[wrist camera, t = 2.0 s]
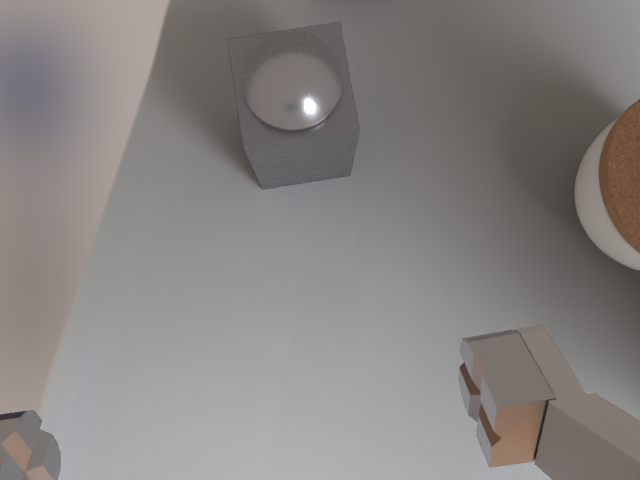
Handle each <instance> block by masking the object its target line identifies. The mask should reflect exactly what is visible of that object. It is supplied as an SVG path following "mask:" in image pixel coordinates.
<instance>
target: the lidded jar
mask: <svg viewBox="0 0 640 480" xmlns="http://www.w3.org/2000/svg"><path fill="white" fill-rule="evenodd" d="M574 196H575V206H576V210H577V214H578V217H579V219H580V222H581V225H582V226H583V228H584V230H585V232H586V233H587V235H588V236H589V238H590V239H591V240H592V241H593V243H594V244H595V245H596V246H597V247H598V248H599V249H600V250H601V251H603V252H604V253H605V254H606V255H608V256H609V257H611V258H612V259H614V260H615V261H617V262H619V263H621V264H623V265H625V266H627V267H629V268H631V269H634V270H638V271H640V99H639V100H638V101H637V102H635V103H634V104H633V105H631V106H630V107H629V108H628V109H627V110H626V111H625V112H624V113H623V114H622V115H620V116H619V117H618V118H616V119H615V120H614V121H612V122H611V123H610V124H609V125H608V126H607V127H606V128H605V129H604V130H603V131H602V132H601V133H600V134H599V135H598V136H597V137H596V138H595V140H594V141H593V143H592V144H591V146H590V147H589V149H588V150H587V152H586V153H585V155H584V157H583V159H582V161H581V163H580V165H579V169H578V172H577V176H576V180H575V189H574Z"/></svg>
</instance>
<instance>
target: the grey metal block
mask: <svg viewBox="0 0 640 480" xmlns="http://www.w3.org/2000/svg"><path fill="white" fill-rule="evenodd" d="M227 40H228V47H229V54H230V60H231V67H232V74H233V81H234V88H235V94H236V101H237V108H238V115H239V121H240V128H241V135H242V142H243V148H244V150H245V153H246V155H247V157H248V159H249V161H250V164H251V166H252V168H253V170H254V172H255V175H256V177H257V179H258V181H259V183H260V185H261V188H262V189H268V188H274V187H281V186H287V185H293V184H300V183H306V182H312V181H318V180H325V179H331V178H337V177H344V176H350V174H351V169H352V164H353V159H354V154H355V149H356V144H357V140H358V135H359V124H358V119H357V113H356V108H355V102H354V97H353V91H352V86H351V80H350V74H349V69H348V63H347V58H346V52H345V47H344V41H343V36H342V30H341V25H340V22H336V23H330V24H323V25H317V26H310V27H304V28H297V29H291V30H284V31H278V32H271V33H265V34H258V35H252V36H245V37H238V38H232V39H227Z"/></svg>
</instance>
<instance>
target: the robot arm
mask: <svg viewBox="0 0 640 480" xmlns="http://www.w3.org/2000/svg"><path fill="white" fill-rule="evenodd" d="M460 353H461V355H462V358H463V360H464V363H463V364H462V365H461V366H460V367H459V383H460V390H461V395H462V398H463V402H464V405H465V407H466V410H467V413H468V415H469V416H470V417H472V418H473V419H474V420H476V421H477V422H478V424H477V435H476V436H477V438H478V441H479V443H480V446H481V448H482V451H483V453H484V456H485V458H486V461H487V463H488V466H489V468H491V467H498V466H505V465H512V464H519V463H526V462H533V461H535V463H534V464H535V465H536V466H538V467H539V468H540V469H541V470H542V471H543V472H544V473H546V474H547V475H548V476H549V477H550V478H551V479H552V480H640V420H638V419H636V418H635V417H633V416H632V415H630V414H628V413H627V412H625V411H623V410H622V409H620V408H618V407H617V406H615V405H614V404H612V403H610V402H609V401H607V400H605V399H604V398H602V397H600V396H599V395H597V394H595V393H593V394H586V392H585V390H584V389H583V387H582V386H581V384H580V382H579V381H578V379H577V378H576V376H575V374H574V373H573V371H572V370H571V368H570V366H569V365H568V363H567V362H566V360H565V359H564V357H563V355H562V354H561V352H560V351H559V349H558V347H557V346H556V344H555V343H554V341H553V339H552V338H551V336H550V335H549V333H548V331H547V330H546V329H545V328H544V327H542V326H535V327H529V328H523V329H517V330H508V331H503V332H497V333H491V334H486V335H480V336H474V337H469V338H463V340H462V342H461V348H460ZM41 423H42V420H41V418H40V417H39V416H38V415H37V413H36V412H35V411H34V410H31V411H22V412H15V413H8V414H1V415H0V480H58V476H59V473H60V465H61V453H60V449H59V446H58V443H57V441H56V440H55V438H54V437H53V435H52V434H50V433H47V432H45V431H43V430H41V429H40V426H41Z"/></svg>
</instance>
